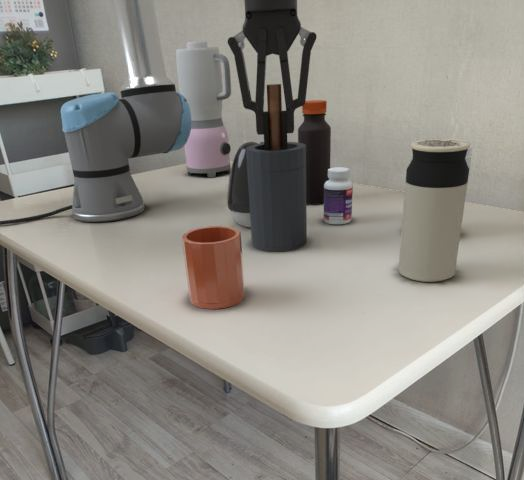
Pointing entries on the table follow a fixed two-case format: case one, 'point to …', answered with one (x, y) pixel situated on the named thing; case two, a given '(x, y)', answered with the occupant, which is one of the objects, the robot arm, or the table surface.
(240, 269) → the pen pot
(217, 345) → the table surface
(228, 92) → the blender
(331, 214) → the pill bottle
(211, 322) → the table surface
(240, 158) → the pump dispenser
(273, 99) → the brush
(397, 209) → the table surface
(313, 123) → the vinegar
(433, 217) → the travel mug
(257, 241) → the utensil holder
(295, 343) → the table surface
